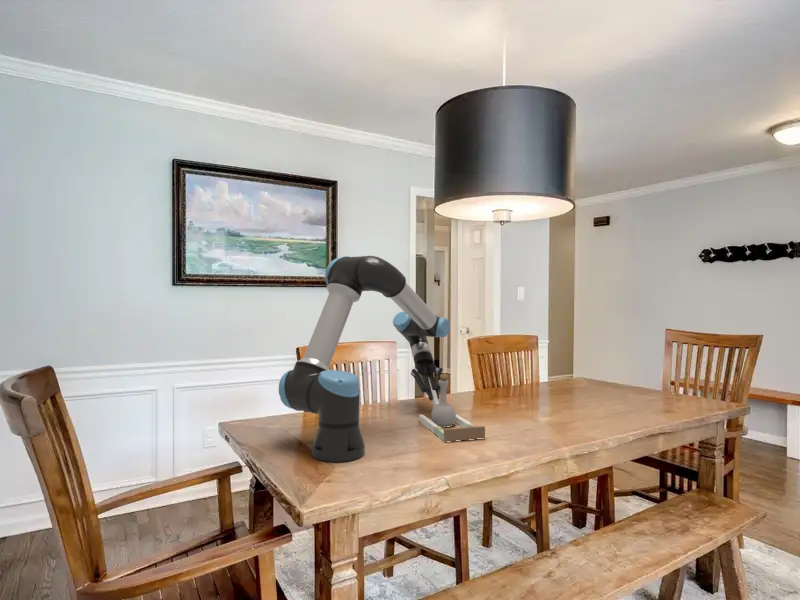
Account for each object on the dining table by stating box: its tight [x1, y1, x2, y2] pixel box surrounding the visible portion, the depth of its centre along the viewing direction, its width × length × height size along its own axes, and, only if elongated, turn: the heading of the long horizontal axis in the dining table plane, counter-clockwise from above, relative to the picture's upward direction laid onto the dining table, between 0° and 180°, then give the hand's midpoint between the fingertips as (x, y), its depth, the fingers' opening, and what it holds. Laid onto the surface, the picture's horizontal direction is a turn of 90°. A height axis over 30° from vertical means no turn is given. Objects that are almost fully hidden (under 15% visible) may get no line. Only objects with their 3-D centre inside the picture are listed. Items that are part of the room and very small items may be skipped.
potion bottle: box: [430, 373, 457, 427], centre depth 171 cm, size 9×9×18 cm
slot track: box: [418, 413, 486, 443], centre depth 165 cm, size 26×14×4 cm, turn 16°
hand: (436, 407), depth 178 cm, fingers closed
